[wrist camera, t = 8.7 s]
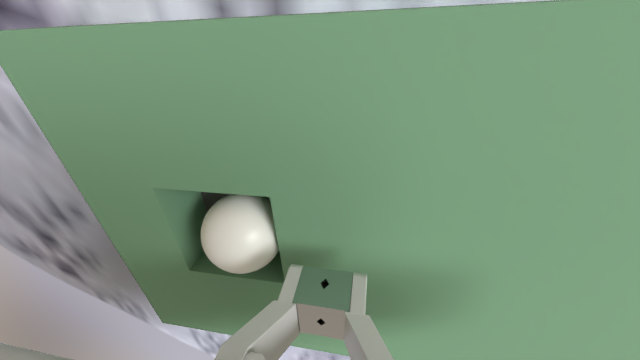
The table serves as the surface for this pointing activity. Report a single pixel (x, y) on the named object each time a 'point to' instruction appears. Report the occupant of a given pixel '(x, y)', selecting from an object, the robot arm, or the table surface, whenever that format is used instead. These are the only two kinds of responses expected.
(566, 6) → the green
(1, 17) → the table surface
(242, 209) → the ball
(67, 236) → the table surface
